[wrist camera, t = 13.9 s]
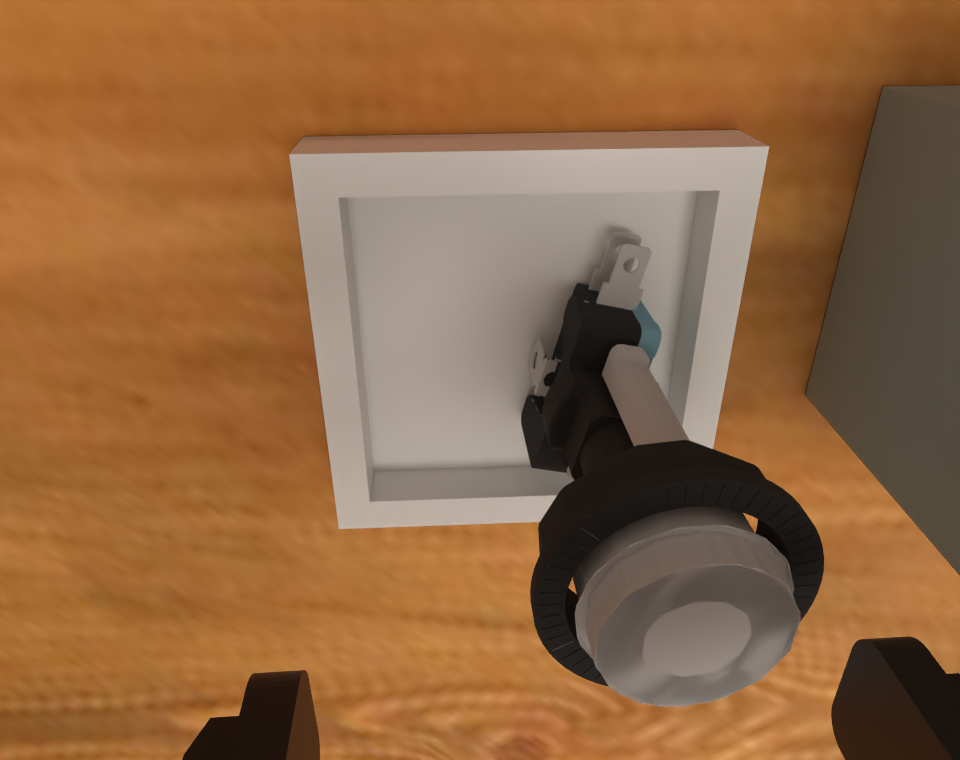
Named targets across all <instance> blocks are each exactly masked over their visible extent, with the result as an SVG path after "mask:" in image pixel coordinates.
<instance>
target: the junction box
mask: <svg viewBox="0 0 960 760" xmlns="http://www.w3.org/2000/svg"><path fill="white" fill-rule="evenodd" d="M805 396H806V397H807V398H808V399H809V400H810V401H811V403H812V404H813V405H814V406H815V407H816V408H817V410H818V411H819V412H820V413H821V414H822V415H823V417H824V418H825V419H826V420H827V421H828V422H829V424H830V425H831V426H832V427H833V428H834V429H835V431H836V432H837V433H838V434H839V435H840V436H841V438H842V439H843V440H844V441H845V442H846V443H847V445H848V446H849V447H850V448H851V449H852V450H853V452H854V453H855V454H856V455H857V456H858V457H859V459H860V460H861V461H862V462H863V463H864V464H865V466H866V467H867V468H868V469H869V470H870V471H871V473H872V474H873V475H874V476H875V477H876V478H877V480H878V481H879V482H880V483H881V484H882V485H883V487H884V488H885V489H886V490H887V491H888V492H889V494H890V495H891V496H892V497H893V498H894V499H895V501H896V502H897V503H898V504H899V505H900V506H901V508H902V509H903V510H904V511H905V512H906V513H907V515H908V516H909V517H910V518H911V519H912V520H913V522H914V523H915V524H916V525H917V526H918V527H919V529H920V530H921V531H922V532H923V533H924V534H925V536H926V537H927V538H928V539H929V540H930V541H931V543H932V544H933V545H934V546H935V547H936V548H937V550H938V551H939V552H940V553H941V554H942V555H943V557H944V558H945V559H946V560H947V561H948V562H949V564H950V565H951V566H952V567H953V568H954V569H955V571H956V572H957V573H958V574H959V575H960V85H932V86H883V88H882V92H881V96H880V100H879V104H878V108H877V112H876V116H875V119H874V123H873V127H872V131H871V135H870V139H869V143H868V147H867V151H866V155H865V159H864V163H863V167H862V171H861V175H860V179H859V183H858V187H857V191H856V195H855V199H854V203H853V207H852V211H851V215H850V219H849V223H848V227H847V231H846V235H845V239H844V243H843V247H842V251H841V255H840V259H839V263H838V267H837V271H836V275H835V278H834V282H833V286H832V290H831V294H830V298H829V302H828V306H827V310H826V314H825V318H824V322H823V326H822V330H821V334H820V338H819V342H818V346H817V350H816V354H815V358H814V362H813V366H812V370H811V374H810V378H809V382H808V386H807V390H806V394H805Z"/></svg>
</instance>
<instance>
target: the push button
mask: <svg viewBox="0 0 960 760" xmlns="http://www.w3.org/2000/svg"><path fill="white" fill-rule="evenodd" d="M641 241H642V239H641V238H640V236H639V235H634V234H630V233H625V232H620V231H615V232H614V233H613V234H612V237H611V240H610V242H609V245H608V248H607V251H606V254H605V257H604V260H603V263H602V266H601V269H597V268H595V270H594V273H593V276H592V279H591V282H590V285H586V284H581V283H577V284H576V286H575V288H574V291H573V294H572V296H571V297H570V298H569V300H568V302H567V305H566V309H565V312H564V317H563V325H562V328H561V331H560V334H559V337H558V340H557V344H556V347H555V350H554V353H553V356H552V359H551V360H550V359H548V358H546V356H547V354H546V351H545V348H544V345H543V342H542V339H541V338H540V337H538V338H537V339H536V341H535V345H534V348H533V351H532V355H531V358H530V361H529V368H528V371H529V375H530V379H531V382H532V386H533V388H535V391H534V393H535V394H536V395H538V396H534V395H528V396H527V398H526V401H525V404H524V407H523V410H522V415H521V425H522V430H523V434H524V438H525V443H526V447H527V452H528V456H529V460H530V465H531V467H532V468H535V469H542V470H549V471H556V472H563V473H567V476H568V480H569V482H570V483H569V484H567V485H566V486H564V487H563V488H562V489H561V490H560V492H559V493H558V495H557V496H556V498H555V499H554V501H553V503H552V504H551V506H550V507H549V509H548V510H547V512H546V513H545V515H544V516H543V518H542V520H541V521H540V523H539V528H538V530H539V549H540V556H539V558H538V561H537V563H536V566H535V568H534V572H533V576H532V581H531V589H530V596H531V606H532V611H533V617H534V623H535V627H536V630H537V633H538V636H539V637H540V639H541V641H542V643H543V645H544V646H545V648H546V649H547V650H548V652H549V653H550V654H551V655H552V656H553V657H554V658H555V659H556V660H557V661H558V662H559V663H560V664H561V665H563V666H564V667H565V668H567V669H568V670H570V671H571V672H573V673H575V674H576V675H578V676H581V677H583V678H585V679H587V680H590V681H592V682H595V683H598V684H602V685H606V686H609V687H610V688H611V689H613V690H615V691H616V692H617V693H618V694H620V695H623V696H626V697H629V698H631V699H633V700H635V701H637V702H639V703H643V704H653V705H657V706H660V707H661V706H678V707H682V706H687V705H692V704H697V703H706V702H712V701H714V700H716V699H721V698H725V697H727V696H729V695H731V694H733V693H735V692H737V691H739V690H740V689H742V688H744V687H746V686H749V685H751V684H753V683H756V682H757V681H759V680H760V679H762V678H763V677H764V676H765V675H766V674H767V673H768V672H769V671H770V670H771V669H772V668H773V667H774V666H775V665H776V664H777V663H778V662H779V661H780V660H781V659H782V658H783V657H784V656H785V655H786V654H787V653H788V652H789V651H790V650H791V647H792V644H793V641H794V638H795V635H796V632H797V629H798V626H799V623H800V621H801V620H802V618H803V617H804V616H805V614H806V613H807V611H808V610H809V608H810V607H811V605H812V603H813V601H814V599H815V597H816V595H817V593H818V590H819V587H820V584H821V581H822V576H823V570H824V554H823V547H822V543H821V540H820V536H819V534H818V532H817V530H816V528H815V526H814V525H813V523H812V522H811V520H810V519H809V517H808V516H807V514H806V513H805V512H804V510H803V509H802V507H801V506H800V504H799V503H798V502H797V501H796V500H795V499H794V498H793V497H792V496H791V495H790V494H789V493H787V492H786V491H785V490H784V489H782V488H781V487H779V486H778V485H776V484H774V483H773V482H771V481H769V480H767V479H766V478H765V477H764V475H763V474H762V473H761V471H760V470H759V468H758V467H756V466H755V465H753V464H751V463H748V462H745V461H743V460H740V459H738V458H735V457H732V456H730V455H727V454H724V453H722V452H719V451H716V450H714V449H711V448H708V447H706V446H703V445H700V444H698V443H695V442H693V441H690V440H689V438H688V436H687V435H686V433H685V431H684V429H683V428H682V426H681V424H680V422H679V421H678V419H677V417H676V415H675V413H674V412H673V410H672V408H671V406H670V405H669V403H668V401H667V399H666V397H665V395H664V394H663V392H662V390H661V388H660V387H659V383H657V382H656V380H655V378H654V376H653V375H652V373H651V371H650V369H649V368H650V365H651V363H652V360H653V358H655V356H656V353H657V351H658V348H659V346H660V342H661V329H660V327H659V326H658V324H657V323H656V322H655V321H654V320H653V318H652V317H651V315H650V314H649V312H648V311H647V309H646V307H645V306H644V304H643V303H642V301H641V297H642V294H643V291H644V290H643V289H639V286H640V284H641V281H642V278H643V275H644V273H645V270H646V267H647V265H648V262H649V259H650V256H651V254H652V252H651V250H650V248H648V247H643V246H640V244H641ZM620 245H621V248H620V251H619V254H618V257H615V250H616V248H617V247H618V246H620ZM635 258H637V259H638V261H639V266H638V267H637V269H636V270H634V271H632V272H631V269H632V266H633V264H634V261H635ZM537 354H538V360H537V365H536V367H535V361H536V356H537ZM743 513H746V514H748V515H751V516H753V517H755V518H757V519H758V524H757V530H756V534H755V533H754V531H753V529H752V528H751V526H750V524H749V523H748V521H747V519H746V517H745V516H744V514H743ZM572 577H573V580H574V584H575V588H576V592H577V595H576V594H575V593H574V592H573V591H571V590H570V589H569V588H568V587H569V584H570V581H571V579H572Z"/></svg>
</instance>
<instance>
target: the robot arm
mask: <svg viewBox="0 0 960 760" xmlns="http://www.w3.org/2000/svg"><path fill="white" fill-rule="evenodd" d="M831 717H832V726H833V731H834V735H835V738H836V741H837V744H838V746H839V748H840V750H841V753H842V754H843V756H844V758H845V760H960V674H959V673H956V674H946V673H945V672H944V670H943V669H942V668H941V666H940V665H939V664H938V662H937V661H936V660H935V658H934V657H933V656H932V654H931V653H930V652H929V650H928V649H927V648H926V647H925V645H924V644H922V643H921V642H920V641H919V640H917V639H916V638H913V637H893V638H877V639H861V640H858V641H857V642H856V643H855V644H854V646H853V648H852V650H851V653H850V656H849V659H848V662H847V665H846V667H845V670H844V673H843V676H842V679H841V682H840V684H839V687H838V690H837V693H836V696H835V699H834V701H833V705H832V711H831ZM183 760H320V744H319V734H318V728H317V723H316V717H315V711H314V706H313V700H312V695H311V689H310V683H309V678H308V674H307V672H306V671H305V670H302V671H285V672H268V673H254V674H252V675H251V677H250V678H249V681H248V683H247V687H246V691H245V695H244V699H243V703H242V707H241V711H240V715H239V716H232V717H216V718H210V719H209V721H208V722H207V724H206V725H205V726H204V728H203V729H202V730H201V732H200V733H199V735H198V736H197V737H196V739H195V740H194V741H193V743H192V744H191V746H190V747H189V748H188V750H187V751H186V753H185V754H184V756H183Z"/></svg>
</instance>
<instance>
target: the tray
mask: <svg viewBox="0 0 960 760" xmlns="http://www.w3.org/2000/svg"><path fill="white" fill-rule="evenodd" d="M768 151H769V146H767V145H766V144H764V143H762V142H760V141H758V140H756V139H754V138H753V137H751V136H749V135H747V134H745V133H743V132H741V131H740V130H694V131H629V132H563V133H498V134H433V135H367V136H304V137H303V138H302V139H301V140H300V142H299V143H298V144H297V145H296V147H295V148H294V149H293V150H292V151H291V153H290V154H289V156H290V164H291V172H292V179H293V187H294V194H295V202H296V209H297V217H298V224H299V232H300V239H301V247H302V254H303V262H304V269H305V277H306V285H307V292H308V300H309V307H310V315H311V322H312V330H313V337H314V345H315V352H316V360H317V367H318V375H319V383H320V390H321V398H322V405H323V413H324V420H325V428H326V435H327V443H328V450H329V458H330V465H331V473H332V481H333V488H334V496H335V503H336V511H337V518H338V526H339V529H357V528H384V527H412V526H439V525H467V524H495V523H522V522H540V521H541V520H542V518H543V516H544V515H545V513H546V512H547V510H548V509H549V507H550V506H551V504H552V503H553V501H554V499H555V498H556V496H557V495H558V493H559V492H560V490H561V489H562V488H563V487H564V486H566V485H567V484H569V483H570V482H569V480H568V476H567V473H563V472H556V471H549V470H542V469H535V468H532V467H531V465H530V460H529V456H528V452H527V447H526V443H525V438H524V434H523V430H522V425H521V415H522V410H523V407H524V404H525V401H526V398H527V396H528V395H534V396H538V395H536V394H535V393H534V391H535V388H533V386H532V382H531V379H530V375H529V371H528V368H529V361H530V358H531V355H532V351H533V348H534V345H535V341H536V339H537V338H538V337H540V338H541V339H542V342H543V345H544V348H545V351H546V354H547V356H546V358H548V359H550V360H551V359H552V356H553V353H554V350H555V347H556V344H557V340H558V337H559V334H560V331H561V328H562V325H563V317H564V312H565V309H566V305H567V302H568V300H569V298H570V297H571V296H572V294H573V291H574V288H575V286H576V284H577V283H581V284H586V285H590V282H591V279H592V276H593V273H594V270H595V268H597V269H601V266H602V263H603V260H604V257H605V254H606V251H607V248H608V245H609V242H610V240H611V237H612V234H613V233H614V232H615V231H620V232H625V233H630V234H634V235H639V236H640V238H641V239H642V241H641V244H640V246H643V247H648V248H650V250H651V252H652V254H651V256H650V259H649V262H648V265H647V267H646V270H645V273H644V275H643V278H642V281H641V284H640V286H639V289H643V290H644V291H643V294H642V297H641V301H642V303H643V304H644V306H645V307H646V309H647V311H648V312H649V314H650V315H651V317H652V318H653V320H654V321H655V322H656V323H657V324H658V326H659V327H660V329H661V342H660V346H659V348H658V351H657V353H656V356H655V358H653V360H652V363H651V365H650V368H649V369H650V371H651V373H652V375H653V376H654V378H655V380H656V382H657V383H659V387H660V388H661V390H662V392H663V394H664V395H665V397H666V399H667V401H668V403H669V405H670V406H671V408H672V410H673V412H674V413H675V415H676V417H677V419H678V421H679V422H680V424H681V426H682V428H683V429H684V431H685V433H686V435H687V436H688V438H689V440H690V441H693V442H695V443H698V444H700V445H703V446H706V447H708V448H711V449H713V446H714V440H715V435H716V430H717V424H718V419H719V414H720V408H721V403H722V398H723V392H724V387H725V381H726V376H727V371H728V365H729V360H730V355H731V349H732V344H733V338H734V333H735V328H736V322H737V317H738V312H739V306H740V301H741V296H742V290H743V285H744V279H745V274H746V269H747V263H748V258H749V253H750V247H751V242H752V237H753V231H754V226H755V220H756V215H757V210H758V204H759V199H760V194H761V188H762V183H763V177H764V172H765V167H766V161H767V156H768ZM620 248H621V245H620V246H618V247H617V248H616V250H615V257H618V254H619V251H620ZM638 266H639V261H638V259H637V258H635V261H634V264H633V266H632V269H631V272H632V271H634V270H636V269H637V267H638ZM537 360H538V354H537V356H536V361H535V367H536V365H537Z"/></svg>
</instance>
